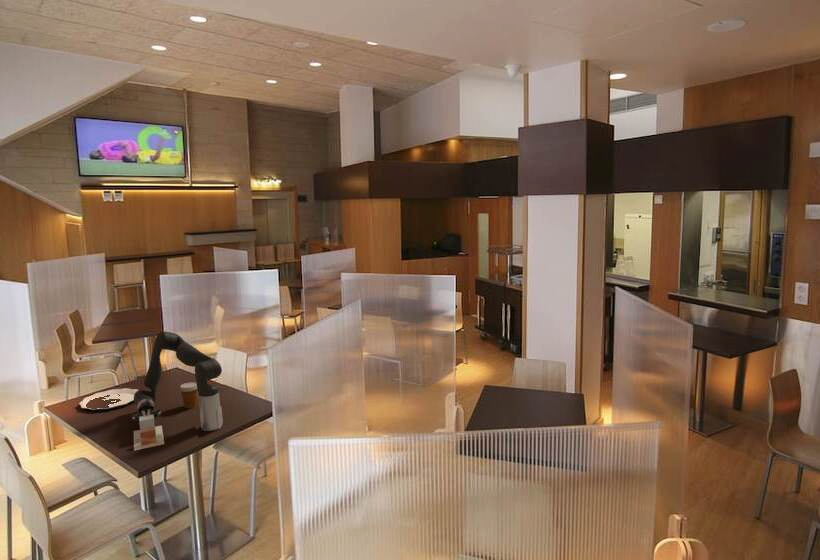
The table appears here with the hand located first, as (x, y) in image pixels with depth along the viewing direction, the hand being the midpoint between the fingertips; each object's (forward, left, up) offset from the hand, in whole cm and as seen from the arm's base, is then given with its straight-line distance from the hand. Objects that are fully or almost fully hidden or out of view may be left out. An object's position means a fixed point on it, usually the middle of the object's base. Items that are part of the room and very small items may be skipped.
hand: (147, 421), depth 240 cm
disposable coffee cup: (-8, -35, -8) cm, 37 cm away
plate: (+39, -47, -8) cm, 62 cm away
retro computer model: (-1, +3, -6) cm, 7 cm away
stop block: (-4, +10, -6) cm, 13 cm away
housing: (-2, +4, -7) cm, 9 cm away
